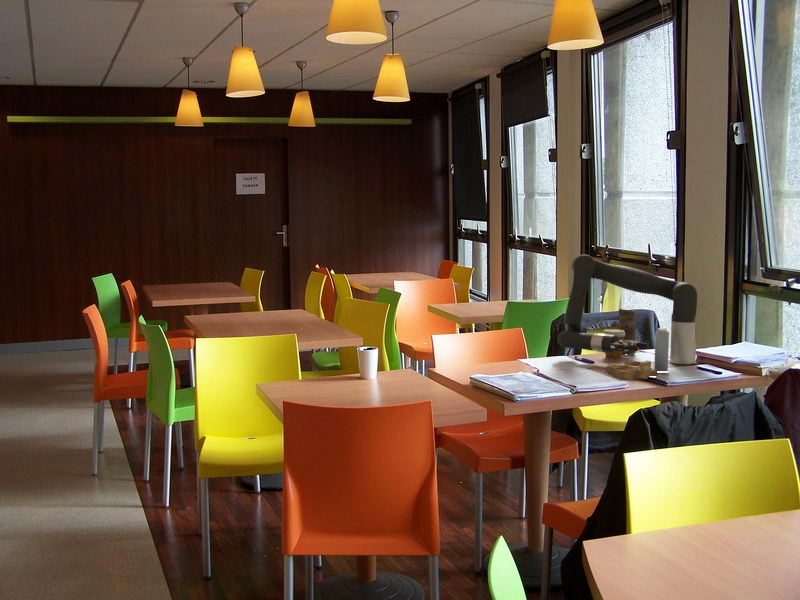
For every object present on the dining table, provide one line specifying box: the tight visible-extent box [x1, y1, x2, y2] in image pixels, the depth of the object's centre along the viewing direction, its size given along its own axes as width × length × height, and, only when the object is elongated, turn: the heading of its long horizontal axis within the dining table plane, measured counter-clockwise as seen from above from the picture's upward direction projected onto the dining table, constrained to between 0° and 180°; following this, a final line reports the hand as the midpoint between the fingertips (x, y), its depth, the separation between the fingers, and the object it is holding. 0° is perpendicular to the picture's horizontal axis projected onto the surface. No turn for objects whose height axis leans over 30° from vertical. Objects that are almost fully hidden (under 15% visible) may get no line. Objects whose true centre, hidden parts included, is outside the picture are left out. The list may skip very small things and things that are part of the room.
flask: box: [653, 327, 670, 372], centre depth 322 cm, size 5×5×17 cm
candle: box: [618, 308, 637, 355], centre depth 366 cm, size 8×7×20 cm
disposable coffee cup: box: [602, 328, 625, 360], centre depth 355 cm, size 10×10×12 cm
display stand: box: [606, 359, 658, 381], centre depth 316 cm, size 15×15×6 cm
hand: (642, 347), depth 327 cm, fingers open, 8 cm apart
